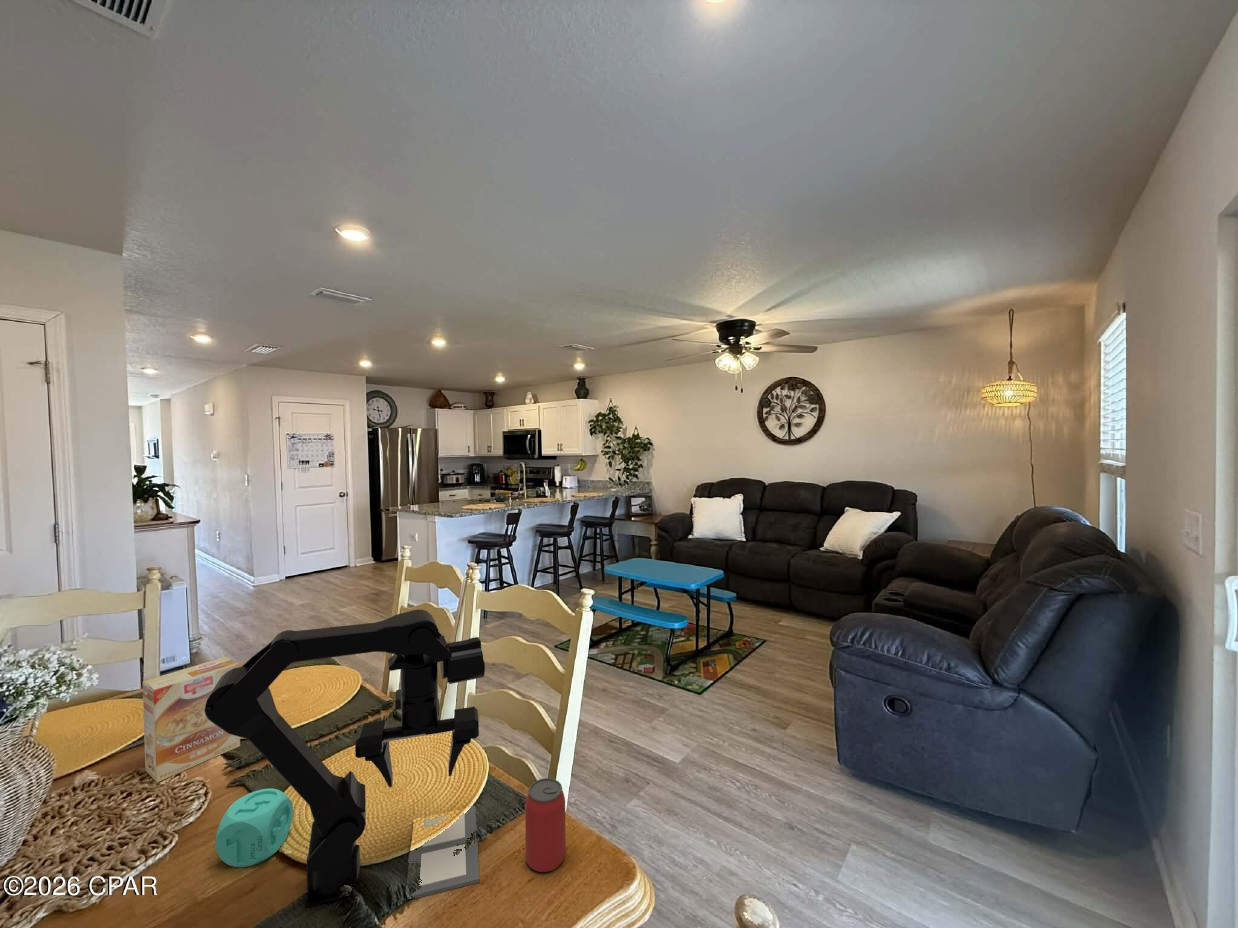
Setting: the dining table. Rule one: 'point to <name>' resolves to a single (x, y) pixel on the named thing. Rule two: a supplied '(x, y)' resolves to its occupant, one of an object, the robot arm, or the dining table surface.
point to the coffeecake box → (183, 719)
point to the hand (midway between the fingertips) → (420, 779)
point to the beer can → (545, 825)
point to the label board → (448, 857)
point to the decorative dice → (254, 827)
